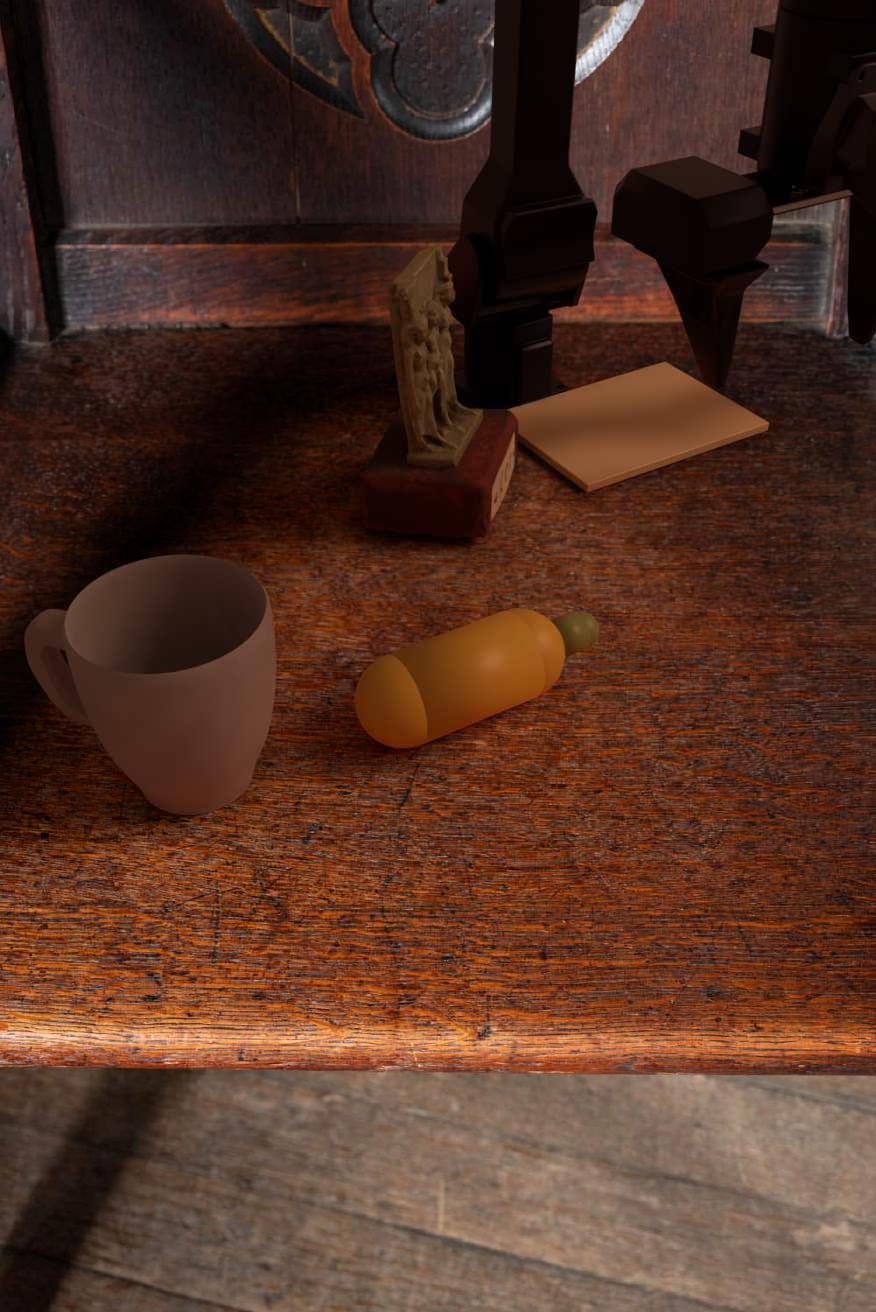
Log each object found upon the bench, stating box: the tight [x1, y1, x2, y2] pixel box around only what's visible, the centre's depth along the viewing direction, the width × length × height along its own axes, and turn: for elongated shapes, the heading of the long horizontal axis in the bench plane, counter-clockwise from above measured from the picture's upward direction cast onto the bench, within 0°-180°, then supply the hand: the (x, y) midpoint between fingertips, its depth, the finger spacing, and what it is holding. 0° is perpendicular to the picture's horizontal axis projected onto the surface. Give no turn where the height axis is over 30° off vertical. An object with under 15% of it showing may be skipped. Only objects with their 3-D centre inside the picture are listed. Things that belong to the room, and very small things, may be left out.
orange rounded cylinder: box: [354, 607, 600, 749], centre depth 62 cm, size 14×5×5 cm, turn 121°
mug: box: [24, 554, 277, 816], centre depth 57 cm, size 12×9×10 cm
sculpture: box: [360, 244, 519, 539], centre depth 73 cm, size 10×8×15 cm
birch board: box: [507, 361, 770, 493], centre depth 85 cm, size 11×15×1 cm
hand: (788, 363), depth 61 cm, fingers open, 9 cm apart
